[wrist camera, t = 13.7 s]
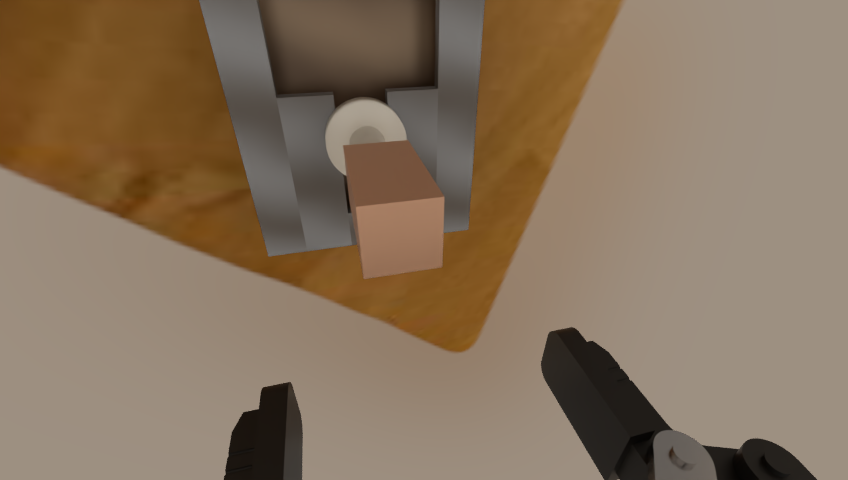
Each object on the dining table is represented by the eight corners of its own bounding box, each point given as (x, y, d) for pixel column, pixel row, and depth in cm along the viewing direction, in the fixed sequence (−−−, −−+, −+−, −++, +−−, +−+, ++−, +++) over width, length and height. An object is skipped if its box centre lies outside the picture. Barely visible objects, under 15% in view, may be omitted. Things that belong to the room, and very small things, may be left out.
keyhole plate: (184, -138, 19) (153, -170, 15) (462, -122, 21) (495, -146, 18) (273, 222, 29) (268, 256, 26) (449, 201, 32) (468, 229, 29)
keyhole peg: (319, 99, 21) (327, 186, 12) (401, 94, 22) (468, 172, 13) (330, 176, 24) (344, 299, 14) (403, 169, 25) (461, 280, 15)
